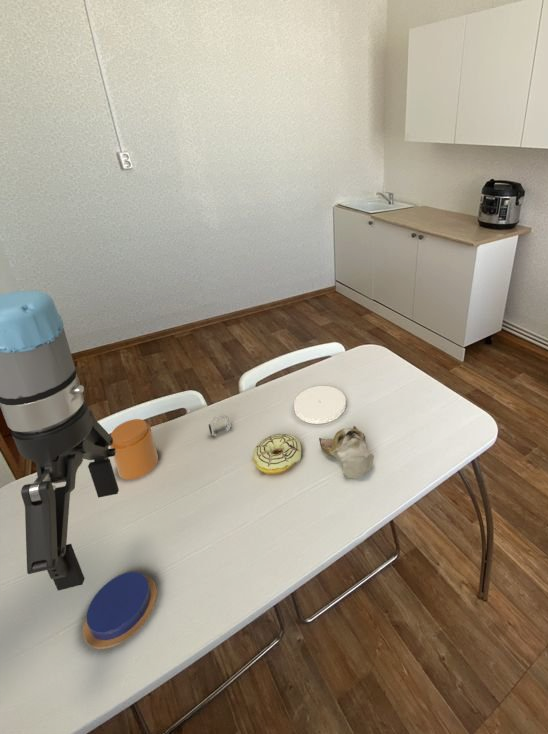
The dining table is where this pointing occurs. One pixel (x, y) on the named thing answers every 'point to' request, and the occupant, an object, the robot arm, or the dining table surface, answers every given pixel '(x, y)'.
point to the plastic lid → (320, 404)
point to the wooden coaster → (113, 642)
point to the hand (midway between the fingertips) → (92, 534)
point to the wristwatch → (217, 420)
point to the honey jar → (134, 449)
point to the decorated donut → (280, 462)
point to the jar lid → (118, 606)
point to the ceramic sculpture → (349, 451)
